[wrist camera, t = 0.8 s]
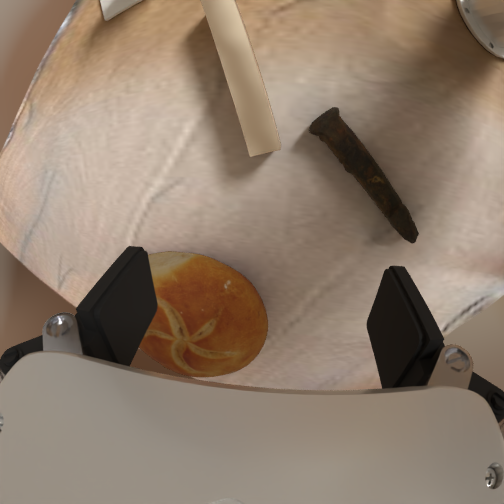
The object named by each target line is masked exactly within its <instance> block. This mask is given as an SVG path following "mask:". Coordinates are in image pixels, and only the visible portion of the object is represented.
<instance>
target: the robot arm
mask: <svg viewBox="0 0 504 504" xmlns="http://www.w3.org/2000/svg"><path fill="white" fill-rule="evenodd" d="M456 1H457V6H458V8H459V11H460V14H461V16H462V18H463V20H464V22H465V23H466V25H467V27H468V28H469V30H470V31H471V33H472V34H473V36H474V37H475V38H476V39H477V40H478V42H479V43H480V44H481V45H482V46H483V47H484V48H485V49H486V50H488V51H489V52H490V53H492V54H493V55H495V56H497V57H500V58H503V59H504V0H456ZM157 308H158V303H157V298H156V293H155V289H154V284H153V279H152V274H151V268H150V263H149V258H148V253H147V252H146V251H144V249H143V248H142V247H134V246H129V247H127V248H126V250H125V251H124V252H123V253H122V254H121V255H120V256H119V257H118V259H117V260H116V261H115V262H114V263H113V264H112V265H111V267H110V268H109V269H108V270H107V271H106V272H105V274H104V275H103V276H102V277H101V278H100V279H99V281H98V282H97V283H96V284H95V285H94V287H93V288H92V289H91V290H90V292H89V293H88V294H87V295H86V297H85V298H84V299H83V300H82V302H81V303H80V304H79V305H78V307H77V308H76V310H77V314H76V315H75V316H74V315H73V314H70V313H66V312H63V313H59V314H56V315H54V316H52V317H51V318H49V319H48V320H47V322H46V323H45V325H44V326H43V335H41V336H39V337H36V338H34V339H31V340H29V341H26V342H23V343H21V344H18V345H16V346H13V347H11V348H9V349H7V350H6V351H5V352H4V354H3V355H2V357H1V359H0V504H504V392H503V391H502V390H501V389H499V388H498V387H496V386H495V385H493V384H491V383H490V382H488V381H487V380H485V379H484V378H482V377H480V376H479V375H477V374H476V373H474V372H473V360H472V357H471V356H470V354H469V353H468V352H467V351H466V350H465V349H464V348H462V347H461V346H458V345H453V344H450V345H447V346H444V343H443V340H444V338H443V336H442V333H441V331H440V329H439V327H438V325H437V324H436V322H435V320H434V318H433V316H432V314H431V312H430V310H429V308H428V306H427V305H426V303H425V301H424V299H423V297H422V296H421V294H420V292H419V290H418V289H417V287H416V285H415V283H414V282H413V280H412V278H411V277H410V275H409V273H408V272H407V270H406V268H405V267H403V266H390V267H389V269H386V270H385V271H384V274H383V277H382V280H381V283H380V286H379V289H378V292H377V295H376V298H375V301H374V304H373V306H372V309H371V312H370V314H369V317H368V320H367V330H368V334H369V337H370V341H371V345H372V349H373V352H374V356H375V360H376V364H377V368H378V372H379V376H380V381H381V385H382V389H364V390H295V389H275V388H261V387H250V386H240V385H231V384H223V383H215V382H208V381H201V380H195V379H189V378H182V377H177V376H172V375H167V374H161V373H156V372H152V371H147V370H143V369H138V368H134V367H130V364H131V362H132V360H133V358H134V355H135V353H136V351H137V349H138V347H139V345H140V343H141V341H142V339H143V337H144V335H145V333H146V331H147V329H148V327H149V325H150V323H151V322H152V320H153V318H154V316H155V314H156V312H157Z"/></svg>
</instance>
